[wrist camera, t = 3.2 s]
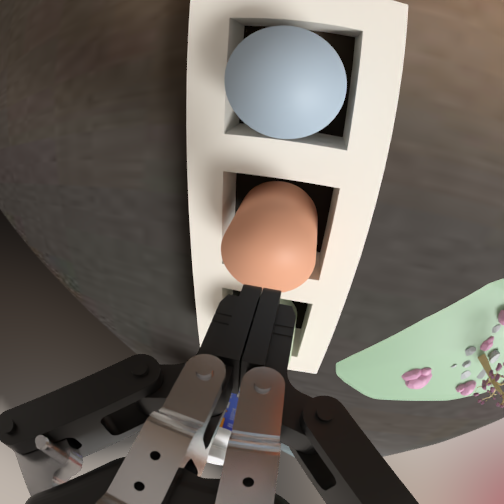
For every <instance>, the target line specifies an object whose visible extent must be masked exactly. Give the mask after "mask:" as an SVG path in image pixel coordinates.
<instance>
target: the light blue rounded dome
mask: <svg viewBox="0 0 504 504" xmlns="http://www.w3.org/2000/svg"><path fill="white" fill-rule="evenodd" d="M224 79H225V90H226V95H227V98H228V101H229V103H230V105H231V107H232V108H233V110H234V112H235V113H236V114H237V116H238V117H239V118H240V119H241V120H242V121H243V122H244V123H245V124H246V125H248V126H249V127H250V128H252V129H254V130H255V131H257V132H259V133H261V134H264V135H267V136H270V137H274V138H279V139H296V138H302V137H306V136H309V135H312V134H314V133H316V132H318V131H320V130H321V129H323V128H324V127H326V126H327V125H328V124H329V123H330V122H331V121H332V120H333V119H334V118H335V117H336V115H337V114H338V113H339V111H340V109H341V107H342V105H343V102H344V100H345V96H346V90H347V79H346V73H345V69H344V66H343V63H342V61H341V59H340V57H339V56H338V54H337V52H336V51H335V50H334V49H333V47H332V46H331V45H330V44H329V43H328V42H327V41H325V40H324V39H323V38H322V37H320V36H319V35H317V34H315V33H313V32H311V31H309V30H306V29H303V28H300V27H295V26H284V25H280V26H272V27H267V28H264V29H261V30H259V31H256V32H254V33H253V34H251V35H249V36H248V37H246V38H245V39H244V40H243V41H242V42H241V43H240V44H238V46H237V47H236V48H235V49H234V51H233V52H232V54H231V56H230V58H229V60H228V63H227V66H226V70H225V78H224Z"/></svg>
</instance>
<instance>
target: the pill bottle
mask: <svg viewBox="0 0 504 504" xmlns="http://www.w3.org/2000/svg"><path fill="white" fill-rule="evenodd" d="M239 393H240V389H239V392H238V394H234V393H231V396H230V399H229V402H228V405H227V409H226V412H225V414H224V417H223V419H222V422H221V424H220V426H219V429H218V431H217V434H216V436H215V438H214V441H213V443H212V445H211V448H210V450H209V453H208V458H207V462H208V463H212V464H217V465H223V464H224V459H225V455H226V450H227V445H228V441H229V437H230V435H231V432H232V427H233V423H234V418H235V413H236V408H237V403H238V398H239Z"/></svg>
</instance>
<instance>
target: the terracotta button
mask: <svg viewBox="0 0 504 504" xmlns="http://www.w3.org/2000/svg"><path fill="white" fill-rule="evenodd" d="M317 227H318V214H317V209H316V206H315V204H314V202H313V200H312V199H311V198H310V196H309V195H308V194H307V193H306V192H305V191H304V190H302V189H301V188H299V187H298V186H296V185H293V184H291V183H288V182H283V181H270V182H265V183H262V184H260V185H258V186H256V187H254V188H253V189H252V190H250V191H249V192H248V194H247V195H246V196H245V198H244V199H243V201H242V203H241V205H240V207H239V208H238V210H237V212H236V214H235V216H234V217H233V219H232V221H231V223H230V225H229V227H228V228H227V230H226V232H225V234H224V236H223V239H222V242H221V256H222V260H223V262H224V265H225V266H226V268H227V270H228V271H229V273H230V274H231V275H232V276H233V277H234V278H235V279H236V280H237V281H239V282H240V283H241V284H243V285H244V284H247V285H252V286H258V287H262V290H263V288H269V289H275V290H280V291H281V293H282V292H287V291H290V290H293V289H295V288H297V287H299V286H301V285H302V284H303V283H304V282H305V281H306V280H307V279H308V278H309V277H310V275H311V274H312V272H313V270H314V267H315V262H316V247H317Z"/></svg>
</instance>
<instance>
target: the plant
mask: <svg viewBox="0 0 504 504" xmlns="http://www.w3.org/2000/svg"><path fill="white" fill-rule="evenodd" d="M336 373H337V375H338V376H339V377H340V378H341V379H342V380H343V381H344V382H345V383H347V384H348V385H350V386H352V387H353V388H355V389H356V390H358V391H359V392H361V393H362V394H364V395H366V396H369V397H371V398H374V399H385V400H411V401H439V400H453V399H458V398H463V397H468V396H472V395H474V396H478V395H479V394H481V393H484V392H489V391H491V392H493V394H494V392H495V391H496V390H497V391H498V394H501V395H500V397H502V398H503V402H502V403H501V404H500V407H501V408H502V407H504V392H502V390H501V388H500V387H499V386H498V385H500V386H501V385H503V384H504V383H503V384H501V383H502V381H503V380H504V279H501V280H498V281H495V282H492V283H489V284H487V285H486V286H484V287H482V288H481V289H479V290H477V291H476V292H474V293H472V294H470V295H469V296H467V297H465V298H463V299H462V300H460V301H458V302H456V303H454V304H452V305H450V306H449V307H447V308H445V309H443V310H441V311H439V312H437V313H435V314H433V315H431V316H429V317H427V318H425V319H423V320H421V321H419V322H418V323H416V324H414V325H412V326H410V327H408V328H407V329H405V330H403V331H401V332H399V333H397V334H395V335H393V336H391V337H389V338H387V339H385V340H383V341H381V342H379V343H377V344H375V345H373V346H371V347H369V348H367V349H365V350H363V351H361V352H359V353H356V354H354V355H352V356H350V357H348V358H346V359H344V360H342V361H340V362H338V363H336ZM489 393H490V392H489ZM493 394H492V395H493ZM492 395H491V394H490V397H491V396H492ZM495 395H497V394H495ZM490 397H487V398H490ZM485 399H486V398H485ZM483 400H484V399H483ZM487 400H488V399H487ZM493 400H495V397H494V398H493ZM478 402H481V399H479V400H478ZM484 402H485V401H482V402H481V404H484ZM496 406H499V402H497V404H496Z"/></svg>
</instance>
